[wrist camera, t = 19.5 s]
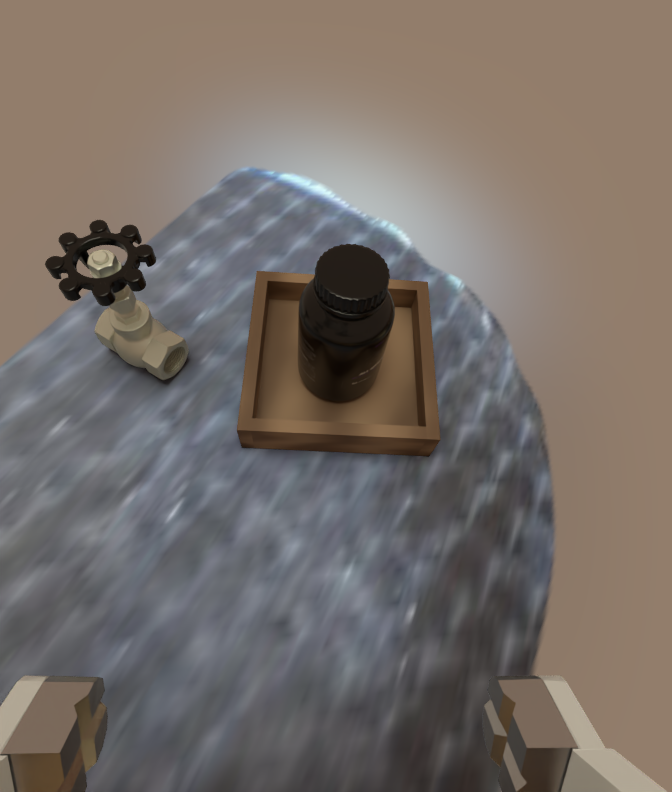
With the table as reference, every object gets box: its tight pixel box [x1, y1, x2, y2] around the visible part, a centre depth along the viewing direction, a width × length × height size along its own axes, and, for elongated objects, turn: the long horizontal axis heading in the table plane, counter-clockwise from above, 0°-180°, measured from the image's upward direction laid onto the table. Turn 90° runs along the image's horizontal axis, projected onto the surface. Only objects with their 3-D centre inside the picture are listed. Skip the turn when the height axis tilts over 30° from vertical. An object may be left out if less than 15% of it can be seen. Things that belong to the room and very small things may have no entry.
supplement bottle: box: [298, 244, 395, 401], centre depth 36 cm, size 7×7×12 cm
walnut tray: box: [237, 271, 440, 456], centre depth 41 cm, size 15×15×4 cm
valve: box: [45, 220, 189, 380], centre depth 37 cm, size 7×7×12 cm
